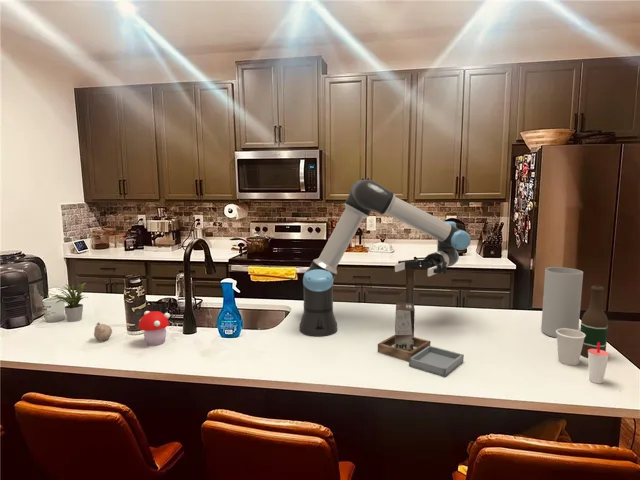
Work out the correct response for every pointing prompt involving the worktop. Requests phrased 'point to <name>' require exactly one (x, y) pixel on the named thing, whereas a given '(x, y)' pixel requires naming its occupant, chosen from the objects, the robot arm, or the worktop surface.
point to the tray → (436, 360)
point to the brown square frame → (386, 349)
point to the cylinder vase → (561, 299)
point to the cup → (597, 364)
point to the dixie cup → (569, 345)
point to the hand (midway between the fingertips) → (411, 270)
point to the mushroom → (154, 327)
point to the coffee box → (404, 326)
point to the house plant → (72, 303)
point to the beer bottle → (594, 323)
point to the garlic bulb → (102, 332)
